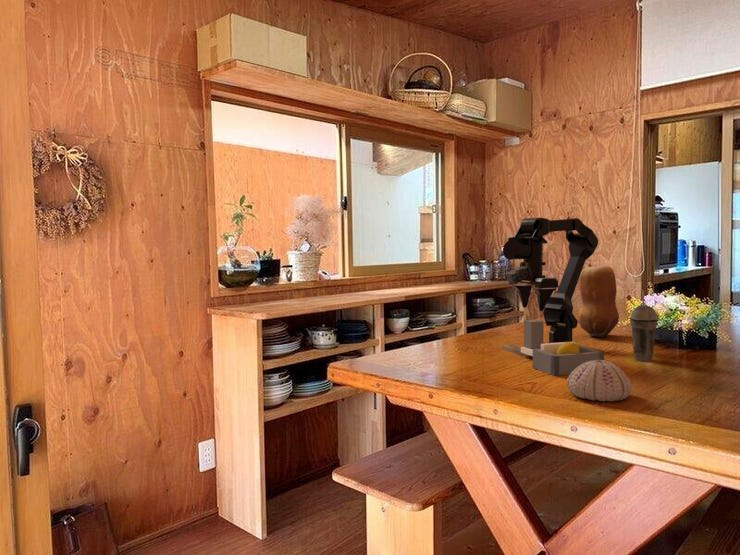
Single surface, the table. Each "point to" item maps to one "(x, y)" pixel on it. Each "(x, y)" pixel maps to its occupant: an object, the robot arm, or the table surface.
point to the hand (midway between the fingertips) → (532, 309)
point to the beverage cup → (643, 331)
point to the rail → (515, 350)
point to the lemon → (567, 348)
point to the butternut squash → (598, 300)
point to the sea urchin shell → (599, 381)
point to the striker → (537, 338)
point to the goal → (564, 360)
